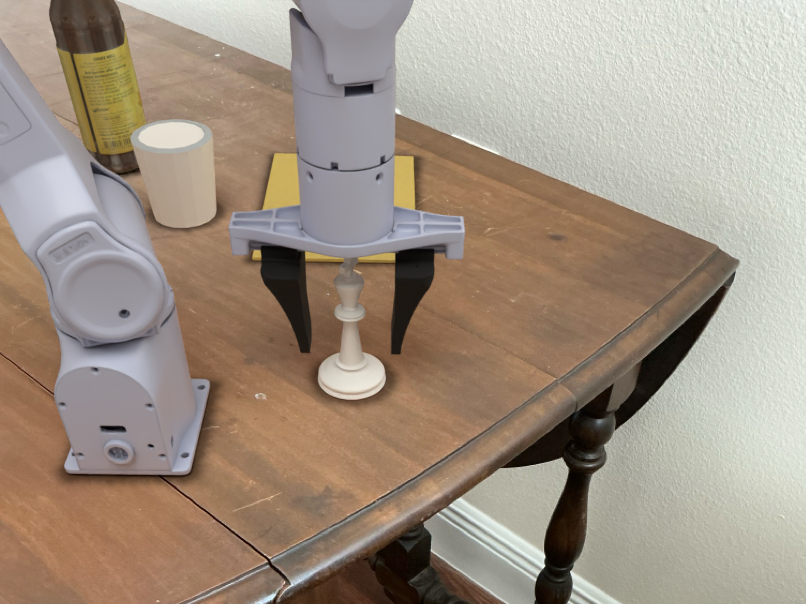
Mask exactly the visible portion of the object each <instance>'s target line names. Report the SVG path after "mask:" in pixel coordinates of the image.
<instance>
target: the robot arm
mask: <svg viewBox="0 0 806 604" xmlns="http://www.w3.org/2000/svg"><path fill="white" fill-rule="evenodd" d="M291 1H292V2H293V3H294V5H295V6H296V7H297V8H298V9H297V8H296V7H291V8H290V9H288V20H289V34H290V48H291V61H290V78H291V91H292V93H291V94H292V105H293V107H292V108H293V119H294V134H295V149H296V151H295V154H297V167H298V181H299V195H300V204H299V205H293V206H286V207H279V208H273V209H266V210H263V209H259V210H249V211H248V210H247V211H232V212H231V216H230V220H229V223H228V234H229V240H230V248H231V255H232V256H243V257H245V256H249V255H250V254H251V251H254V250H261V261H260V263H261V264H260V270H259V273H260V278H261V280H262V282H263V284H264V286H265V287H266V288H267V290H269V292H270V293H271V294H272V296H273V297H274V299H275V300H276V301H277V303H278V304H279V305H280V307H281V309H282V311H283V312H284V314H285V316H286V318H287V320H288V322H289V324H290V326H291V328H292V332H293V333H294V336H295V339H296V342H297V345H298V350H299V353H301V354H311V346H312V339H313V329H312V328H313V327H312V317H311V316H312V315H311V310H310V309H311V308H310V302H309V297H308V287H307V264H306V263H307V261H306V260H305V251H307V252H312V253H316V254H321V255H326V256H331V257H337V258H359V257H366V256H371V255H377V254H383V253H395V263H394V293H393V302H392V310H391V311H392V313H391V322H390V355H392V356H393V355H395V356H399V355H402V349H403V348H402V347H403V343H404V339H405V336H406V332H407V330H408V327H409V326H410V322H411V320H412V318H413V315H414V314H415V312H416V310H417V308H418V306H419V304H420V303H421V301H422V300H423V298H424V296H425V295H426V293H428V291H430V288H431V286H432V284H433V281H434V278H435V255H444V257H445V259H447V260H454V261H455V260H457V261H459V260H460V261H461V260H463V259H464V247H465V238H466V237H465V236H466V229H465V220H464V219H465V218H464V216H462V215H448V214H447V215H446V214H439V213H434V212H428V211H423V210H418V209H415V210H413V209H408V208H403V207H398V206H394V161H395V156H396V107H397V105H396V104H397V103H396V100H397V99H396V97H397V89H396V88H397V64H396V48H397V47H396V45H397V44H396V42H397V39H396V38H397V37H396V36H397V35H398V32H399V30H400V29H401V27H402V26H403V25H404V23H405V22H406V21H407V18H408V16H409V14H410V12H411V10H412V8H413V4H414V1H415V0H291ZM0 209H1V211H2V213H3V215H4V217H5V219H6V221H7V224H8V225H9V227H10V229H11V231H12V233H13V235H14V237H15V239H16V241H17V243H18V245H19V247H20V248H21V250H22V252H23V253H24V255H25V256H26V257H27V258H28V259H29V260H30V262H32V264H33V265H34V266H35V268H36V269H37V270H38V272H39V274H40V275H41V277H42V281H43V283H44V286H45V291H46V297H47V300H48V305H49V312H50V316H51V319H52V322H53V325H54V328H55V331H56V334H57V337H58V341H59V347H60V367H59V370H58V374H57V376H56V377H57V378H56V381H55V384H54V390H53V397H54V404H55V406H56V409H57V412H58V414H59V417H60V420H61V422H62V425H63V428H64V430H65V433H66V436H67V438H68V441H69V445H70V449H69V451H68V454H67V457H66V459H65V462H64V465H63V466H64V470H65V472H66V473H68V474H70V475H72V474H73V475H74V474H75V475H137V476H138V475H146V476H148V475H149V476H155V475H156V476H186V475H188V474H189V473H191V471H192V467H193V463H194V459H195V455H196V451H197V447H198V442H199V437H200V433H201V429H202V425H203V419H204V416H205V411H206V407H207V403H208V398H209V394H210V389H211V382H210V380H209V379H207V378H192V377H191V373H190V368H189V363H188V359H187V353H186V349H185V343H184V339H183V334H182V330H181V325H180V324H181V323H180V318H179V315H178V309H177V305H176V300H175V294H174V290H173V288H172V286H171V285H170V283H169V281H168V278H167V275H166V273H165V270H164V267H163V266H162V263H161V262H160V261H159V260H158V257H157V254H156V250H155V248H154V244H153V240H152V238H151V235H150V232H149V229H148V225H147V215H146V211H145V208H144V205H143V203H142V200H141V198H140V196H139V194H138V192H137V191H136V190H135V188H134V187H133V186H132V185H131V184H130V183H129V182H128V181H127V180H125V179H124V178H123V177H122V176H120V175H119V174H118V173H113V172H112V171H110V170H108V169H106V168H105V167H103V166H102V165H101V164H99V163H98V162H97V161H96V160H95V159H94V158H93V157H92V155H91V154H90V153H89V152H88V150H87V149H86V147H85V146H84V143H83V141H82V140H81V139H80V138H79V137H78V135H76V134H74V133H73V132H72V131H71V130H69V129H68V128H67V127H65V126H64V125H63V124H62V123H61V122H60V120H59V119H58V117H57V116H56V115H55V113H54V112H53V111H52V109H51V108H50V106H49V105H48V104H47V102H46V100H45V99H44V98H43V96H42V95H41V93H40V92H39V91H38V89H37V88H36V86H35V85H34V83H33V82H32V81H31V79H30V78H29V76H28V75H27V74H26V72H25V71H24V69H23V68H22V66H21V65H20V64H19V62H18V61H17V59H16V58H15V57H14V55H13V54H12V52H11V51H10V50H9V48H8V47H7V45H6V44H5V42H4V41H3V39H2V38H1V37H0Z"/></svg>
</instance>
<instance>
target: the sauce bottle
mask: <svg viewBox="0 0 806 604" xmlns="http://www.w3.org/2000/svg"><path fill="white" fill-rule="evenodd" d="M48 17H49V22H50V25H51V28H52V29H51V30H52V32H53V36H54V38H55V47H56V51H57V54H58V58H59V60H60V65H61V69H62V73H63V75H64V79H65V83H66V86H67V90H68V94H69V97H70V100H71V104H72V108H73V111H74V115H75V118H76V122H77V125H78V129H79V132H80V136H81V139H82V140H81V141H82V143H83V144H84V146H85V147H86V149H87V150H88V152H89V153H90V154H91V155H92V157H93V158H94V159H95V160H96V161H97V162H98V163H99V164H101V165H102V166H103V167H105V168H106V169H108V170H110V171H112V172H113V173H115V174H123V173H129V172H132V171H135V170H137V169H138V168H139V165H138V162H137V159H136V156H135V152H134V149H133V146H132V143H131V139H130V137H131V135H132V134H133V132H134V131H135V130H136V129H138V128H140V127H141V126H143V125H146V124H148V123H147V119H146V115H145V110H144V109H145V108H144V105H143V101H142V97H141V92H140V87H139V83H138V78H137V74H136V70H135V66H134V61H133V58H132V53H131V50H130V49H131V48H130V45H129V38H128V35H127V31H126V27H125V23H124V20H123V19H122V18H123V17H122V13H121V11H120V8H119V6H118V4H117V2H116V1H115V0H50V1H49V8H48Z"/></svg>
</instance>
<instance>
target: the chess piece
mask: <svg viewBox="0 0 806 604" xmlns="http://www.w3.org/2000/svg"><path fill="white" fill-rule="evenodd" d="M358 263H359V262H358V258H344V262H341V264H340V265H339V266H338V273H339V274H337V275H336V276H335V277H334V278H333V286H334V288H335V290H336V292H337V294H338V298H339V301H340V303H338V304H337V305H336V306H335V308H334V311H333V314H334V316H335V318H336V319H337V320H339V321H341V322H342V330H341V341H340V351H339V352H337V353H334V354H332V355H330V356H328V357H326V358H325V359H324V360H323V361H322V362H321V364H320V365H319V367H318V375H317V382H318V386H319V387H320V389H322V391H324V393H326V394H328V395H329V396H331V397H334V398H336V399H339V400H341V399H342V400H346V401H347V400H348V401H355V400H356V401H357V400H363V399H367V398H369V397H370V398H371V397H372V396H374V395H376V394H378V393H379V392H380V391H381V390H382V389H383V388H384V386H385V384H386V381H387V375H386V370H385V367H384V363H382V362H381V360H379V359H378V358H377V357H376V356H375V355H373V354H370V353H367V352H363V348H362V343H361V337H360V331H359V323H358V322H359V321H361V320H363V319H364V318H365V317H366V314H367V312H366V309H365V306H364V305H363V304H361V303H360V297H361V293H362V291H363V290H364V286H365V278H364V277H363V276H362V274H359V273H358V272H354V267H356V265H357V264H358Z"/></svg>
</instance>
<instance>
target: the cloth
mask: <svg viewBox="0 0 806 604" xmlns="http://www.w3.org/2000/svg"><path fill="white" fill-rule="evenodd" d="M269 172H270V173H269V177H268V182H267V187H266V192H265V195H264V200H263V205H262V210H266V209H273V208H279V207H286V206H293V205H299V204H300V195H299V181H298V167H297V153H289V152H287V153H286V152H285V153H283V152H274V154H273V159H272V163H271V169H270V171H269ZM415 189H416V188H415V158H414V156H413V155H395V161H394V206H398V207H403V208H408V209H413V210H416V192H415V191H416V190H415ZM252 251H253V252H252V257H251V260H252V261H259V262H261V250H252ZM305 260H306V262H313V263H315V262H319V263H343V262H344V258H337V257H331V256H326V255H321V254H316V253H312V252H307V251H305ZM358 263H369V264H371V263H372V264H373V263H374V264H395V253H383V254H377V255H371V256H366V257H359V258H358Z"/></svg>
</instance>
